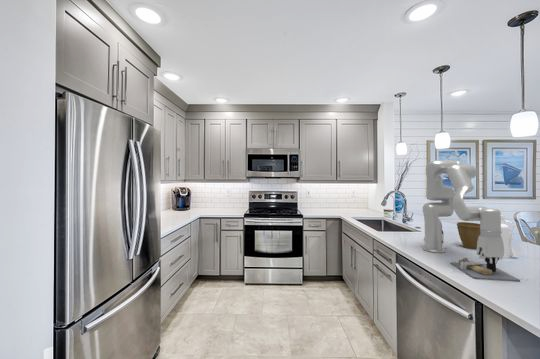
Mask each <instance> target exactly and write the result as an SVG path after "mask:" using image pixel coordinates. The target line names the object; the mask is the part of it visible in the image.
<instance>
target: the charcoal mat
mask: <svg viewBox="0 0 540 359" xmlns="http://www.w3.org/2000/svg"><path fill="white" fill-rule="evenodd" d="M450 264H451V265H452V266H454V267H455V268H456V269H458V270H459V271H461V272H462V273H464V274H465V275H467V276H469V277H470V278H472V279H473V280H486V281H500V282H501V281H503V282H519V283H521V279H519V278H517V277H515V276H513V275H511V274H509V273H507V272H506V271H504V270H501V269H499V268H497V267H496V272H492V275H484V274H481V273H479V272H477V271H475V270H472V269H470V268H468V267H466V270H462V269H461V264H459V262H453V261H451V262H450ZM482 264H483V267H485V268H487V263H482ZM480 266H481V265H480Z"/></svg>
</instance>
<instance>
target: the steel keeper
mask: <svg viewBox="0 0 540 359" xmlns="http://www.w3.org/2000/svg"><path fill="white" fill-rule="evenodd" d="M460 263H461V269H462V270H466V265H481V266H483V264H484V263H481V261H480V262H479V261H470V262H463V261H460Z"/></svg>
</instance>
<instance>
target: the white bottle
mask: <svg viewBox="0 0 540 359" xmlns="http://www.w3.org/2000/svg"><path fill="white" fill-rule="evenodd" d="M505 222H506V223H509V224H510V226H511V227H509V225H508V224H505ZM514 228H515V227H514V222H513V221H510V220H507V219H506V217H505V215H502V214H501V232H502V234H501V237H502V239H503V244H504V256H503V259H510V256H511V257H513V258H516V257H518V256H519V255H518V253H517V251H516V250H515V249H514V248H513V246H512V239H513V238H512V237H513V231H514Z"/></svg>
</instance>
